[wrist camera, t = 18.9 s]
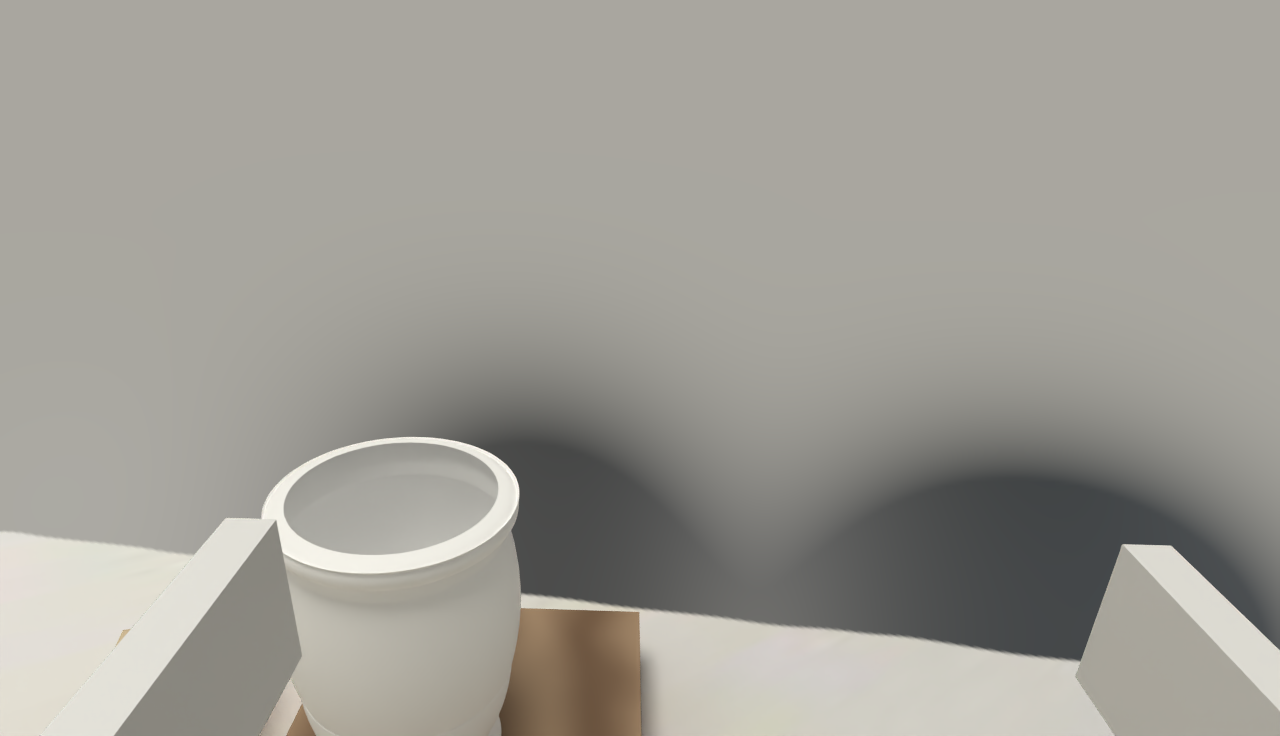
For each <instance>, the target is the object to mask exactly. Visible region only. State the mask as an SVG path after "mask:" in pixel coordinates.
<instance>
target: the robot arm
mask: <svg viewBox="0 0 1280 736" xmlns="http://www.w3.org/2000/svg"><path fill="white" fill-rule="evenodd" d="M301 657H302V652H301V647H300V641H299V636H298V631H297V626H296V620H295V615H294V610H293V605H292V599H291V594H290V589H289V584H288V578H287V573H286V568H285V563H284V557H283V552H282V547H281V542H280V536H279V531H278V526H277V521H276V519H247V518H226V519H225V520H224V521H223V522H222V523H221V525H220V526H219V527H218V528H217V529H216V530H215V531H214V533H213V534H212V535H211V536H210V537H209V539H208V540H207V541H206V542H205V543H204V544H203V545H202V547H201V548H200V549H199V550H198V551H197V552H196V554H195V555H194V556H193V557H192V558H191V559H190V561H189V562H188V563H187V564H186V565H185V566H184V568H183V569H182V570H181V571H180V572H179V573H178V575H177V576H176V577H175V578H174V579H173V580H172V582H171V583H170V584H169V585H168V586H167V587H166V589H165V590H164V591H163V592H162V593H161V594H160V596H159V597H158V598H157V599H156V600H155V601H154V603H153V604H152V605H151V606H150V607H149V608H148V610H147V611H146V612H145V613H144V614H143V615H142V617H141V618H140V619H139V620H138V621H137V622H136V624H135V625H134V626H133V627H132V628H131V629H130V631H129V632H128V633H127V634H126V635H125V636H124V638H123V639H122V640H121V641H120V642H119V643H118V645H117V646H116V647H115V648H114V649H113V650H112V652H111V653H110V654H109V655H108V656H107V657H106V659H105V660H104V661H103V662H102V663H101V664H100V666H99V667H98V668H97V669H96V670H95V671H94V673H93V674H92V675H91V676H90V677H89V678H88V680H87V681H86V682H85V683H84V684H83V685H82V687H81V688H80V689H79V690H78V691H77V692H76V694H75V695H74V696H73V697H72V698H71V699H70V701H69V702H68V703H67V704H66V705H65V706H64V708H63V709H62V710H61V711H60V712H59V713H58V715H57V716H56V717H55V718H54V719H53V720H52V722H51V723H50V724H49V725H48V726H47V727H46V729H45V730H44V731H43V732H42V733H41V734H40V736H259V734H260V733H261V731H262V729H263V727H264V725H265V723H266V722H267V720H268V718H269V716H270V714H271V712H272V711H273V709H274V707H275V705H276V703H277V701H278V700H279V698H280V696H281V694H282V692H283V690H284V688H285V687H286V685H287V683H288V681H289V679H290V677H291V676H292V674H293V672H294V670H295V668H296V666H297V665H298V663H299V661H300V659H301ZM1075 677H1076V679H1077V680H1078V682H1079V683H1080V685H1081V686H1082V687H1083V689H1084V690H1085V692H1086V693H1087V695H1088V696H1089V698H1090V699H1091V701H1092V702H1093V704H1094V705H1095V707H1096V708H1097V710H1098V711H1099V713H1100V714H1101V716H1102V717H1103V719H1104V720H1105V722H1106V723H1107V724H1108V726H1109V727H1110V729H1111V730H1112V732H1113V733H1114V735H1115V736H1280V650H1279V649H1277V647H1275V646H1274V645H1273V644H1272V643H1271V642H1270V641H1269V640H1268V639H1267V638H1266V637H1265V636H1264V635H1263V634H1262V633H1261V632H1260V631H1259V630H1258V629H1257V628H1256V627H1255V626H1254V625H1253V624H1252V623H1251V622H1250V621H1248V619H1246V618H1245V617H1244V616H1243V615H1242V614H1241V613H1240V612H1239V611H1238V610H1237V609H1236V608H1235V607H1234V606H1233V605H1232V604H1231V603H1230V602H1229V601H1228V600H1227V599H1226V598H1225V597H1224V596H1223V595H1222V594H1220V593H1219V592H1218V591H1217V590H1216V589H1215V588H1214V587H1213V586H1212V585H1211V584H1210V583H1209V582H1208V581H1207V580H1206V579H1205V578H1204V577H1203V576H1202V575H1201V574H1200V573H1199V572H1198V571H1197V570H1196V569H1195V568H1194V567H1193V566H1192V565H1190V564H1189V563H1188V562H1187V561H1186V560H1185V559H1184V558H1183V557H1182V556H1181V555H1180V554H1179V553H1178V552H1177V551H1176V550H1175V549H1174V548H1173V547H1172V546H1161V545H1127V544H1126V545H1125V544H1123V545H1122V547H1121V550H1120V553H1119V556H1118V559H1117V561H1116V564H1115V567H1114V570H1113V573H1112V575H1111V578H1110V581H1109V584H1108V587H1107V589H1106V592H1105V595H1104V598H1103V601H1102V603H1101V606H1100V609H1099V612H1098V615H1097V617H1096V620H1095V623H1094V626H1093V629H1092V632H1091V634H1090V637H1089V640H1088V643H1087V646H1086V648H1085V651H1084V654H1083V657H1082V660H1081V662H1080V665H1079V668H1078V671H1077V674H1076V676H1075Z"/></svg>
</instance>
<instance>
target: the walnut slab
mask: <svg viewBox="0 0 1280 736" xmlns="http://www.w3.org/2000/svg"><path fill="white" fill-rule="evenodd" d="M499 718H500V722H501V736H641V691H640V631H639V612H620V611H589V610H558V609H526V608H521V609H520V622H519V631H518V637H517V643H516V648H515V653H514V657H513V661H512V667H511V674H510V680H509V685H508V689H507V693H506V697H505V700H504V703H503V706H502V708H501V711H500V713H499ZM286 736H316V735H315V733H314V731H313V729H312V727H311V725H310V723H309V721H308V718H307V716H306V713H305V710H304V707H303V704H302V705H301V707H300V709H299V711H298V713H297V715H296V717H295V719H294V721H293V723H292V725H291V727H290V729H289V731H288V733H287V735H286Z"/></svg>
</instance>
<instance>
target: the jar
mask: <svg viewBox="0 0 1280 736" xmlns="http://www.w3.org/2000/svg"><path fill="white" fill-rule="evenodd" d="M518 509H519V486H518V482H517V479H516V477H515V475H514V474H513V472H512V471H511V470H510V468H509V467H508V466H507V465H506V464H505V463H503V462H502V461H501V460H500V459H499V458H497V457H495V456H494V455H492V454H490V453H489V452H486V451H484V450H482V449H480V448H477V447H474V446H472V445H468V444H465V443H460V442H457V441H451V440H446V439H439V438H427V437H401V438H388V439H380V440H373V441H367V442H363V443H358V444H354V445H350V446H347V447H343V448H340V449H337V450H334V451H331V452H328V453H326V454H323V455H321V456H318V457H316V458H314V459H312V460H310V461H308V462H306V463H304V464H303V465H301V466H299V467H298V468H296V469H295V470H294V471H292V472H290V473H289V474H288V475H287V476H286V477H284V478H283V479H282V480H281V481H280V482H279V483H278V484H277V485H276V486H275V487H274V488H273V489H272V491H271V492H270V494H269V495H268V497H267V498H266V500H265V503H264V505H263V509H262V516H261V519H276V521H277V526H278V531H279V536H280V542H281V547H282V552H283V557H284V563H285V568H286V573H287V578H288V584H289V589H290V594H291V599H292V605H293V610H294V615H295V620H296V626H297V631H298V636H299V641H300V647H301V652H302V657H301V659H300V661H299V663H298V665H297V666H296V668H295V670H294V672H293V674H292V676H291V680H292V682H293V684H294V687H295V689H296V691H297V693H298V695H299V696H300V698H301V701H302V704H303V707H304V710H305V713H306V716H307V718H308V721H309V723H310V725H311V727H312V729H313V731H314V733H315V735H316V736H501V722H500V718H499V713H500V711H501V708H502V706H503V703H504V700H505V697H506V693H507V689H508V685H509V680H510V674H511V667H512V661H513V657H514V653H515V648H516V643H517V637H518V631H519V622H520V609H521V590H520V575H519V567H518V560H517V554H516V549H515V544H514V540H513V536H512V533H511V529H512V527H513V525H514V523H515V521H516V518H517V514H518Z"/></svg>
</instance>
